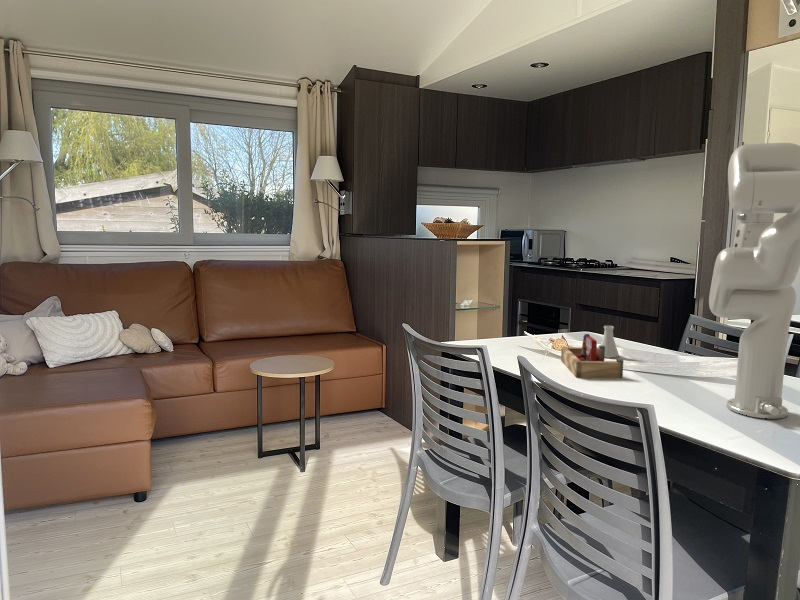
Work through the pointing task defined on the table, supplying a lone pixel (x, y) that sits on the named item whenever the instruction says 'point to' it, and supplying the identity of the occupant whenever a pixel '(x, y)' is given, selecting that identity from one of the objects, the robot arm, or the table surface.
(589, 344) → the toy fire truck
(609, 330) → the flask
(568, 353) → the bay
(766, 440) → the table surface
